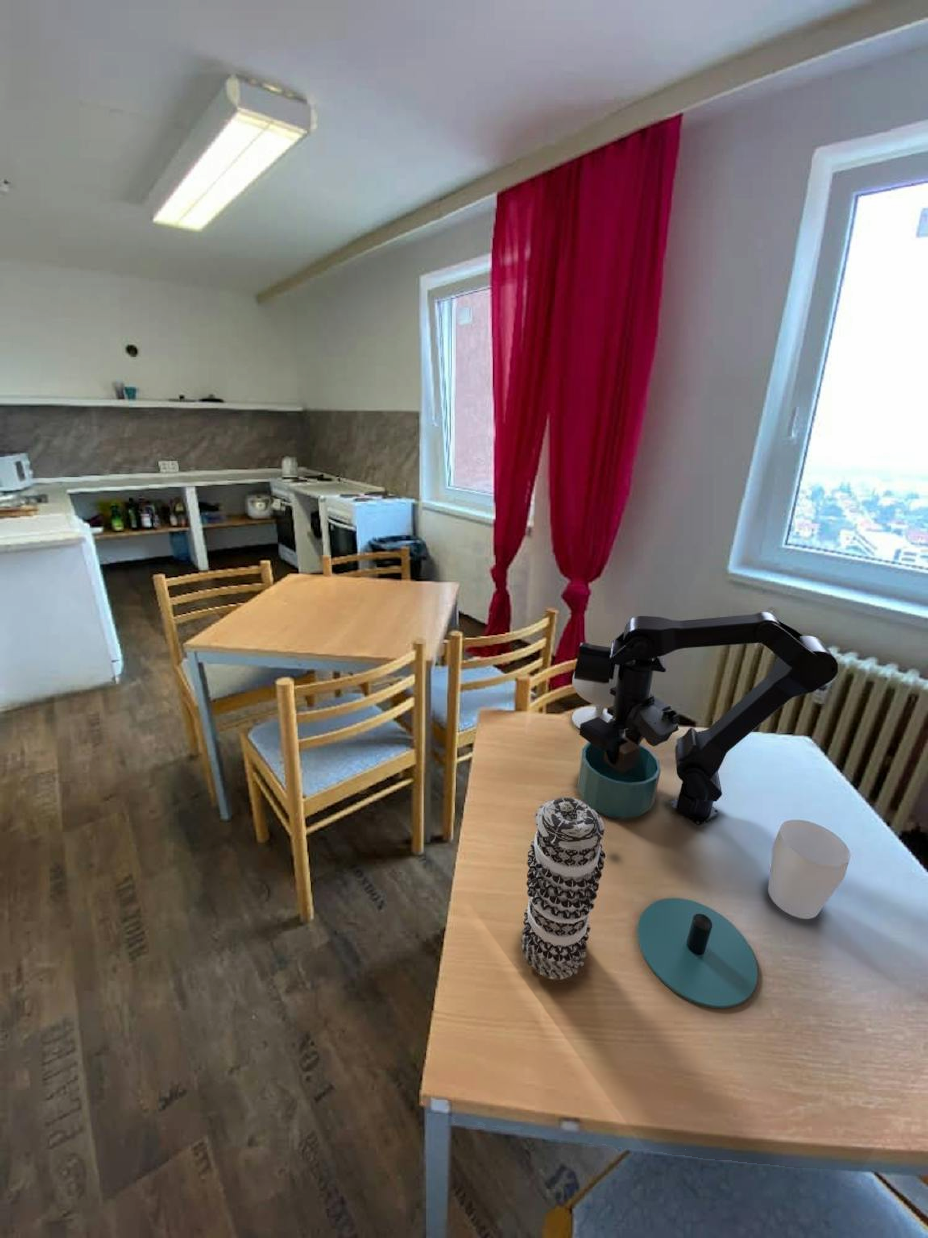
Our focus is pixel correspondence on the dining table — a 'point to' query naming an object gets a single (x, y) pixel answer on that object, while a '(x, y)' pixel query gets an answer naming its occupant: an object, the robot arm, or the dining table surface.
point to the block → (625, 757)
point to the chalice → (594, 699)
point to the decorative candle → (562, 886)
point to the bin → (618, 783)
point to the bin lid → (697, 953)
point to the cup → (806, 867)
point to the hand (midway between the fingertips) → (620, 759)
